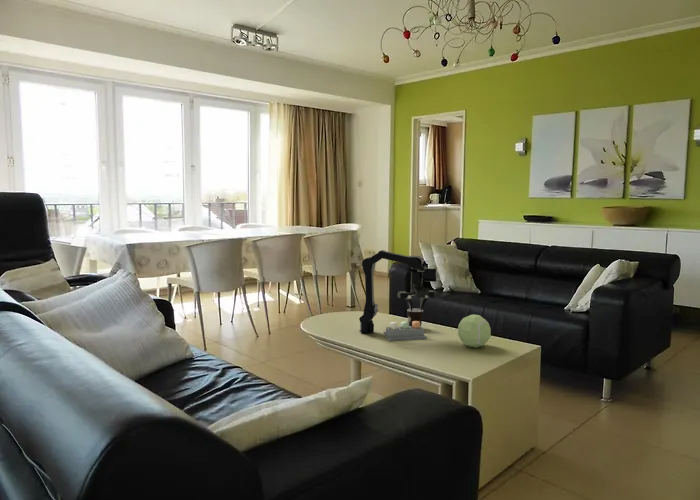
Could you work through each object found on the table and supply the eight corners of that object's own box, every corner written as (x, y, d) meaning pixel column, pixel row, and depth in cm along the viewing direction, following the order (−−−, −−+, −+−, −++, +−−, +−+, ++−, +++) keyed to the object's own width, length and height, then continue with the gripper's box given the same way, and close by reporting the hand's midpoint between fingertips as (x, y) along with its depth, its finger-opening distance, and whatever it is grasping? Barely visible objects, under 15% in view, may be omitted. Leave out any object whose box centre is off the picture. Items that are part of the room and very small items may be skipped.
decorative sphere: (452, 346, 248) (452, 315, 247) (467, 340, 260) (467, 310, 258) (480, 352, 239) (481, 320, 237) (495, 345, 250) (496, 315, 248)
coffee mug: (423, 330, 279) (424, 311, 278) (407, 330, 280) (407, 311, 279) (421, 325, 291) (421, 307, 290) (405, 324, 291) (405, 307, 290)
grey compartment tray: (390, 340, 259) (390, 332, 258) (383, 334, 271) (383, 325, 271) (426, 339, 262) (426, 330, 262) (418, 332, 275) (418, 324, 274)
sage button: (402, 331, 264) (402, 323, 264) (400, 329, 268) (400, 321, 268) (409, 330, 265) (409, 323, 264) (407, 328, 269) (407, 321, 268)
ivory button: (390, 331, 263) (390, 324, 263) (388, 329, 267) (388, 322, 267) (398, 331, 264) (398, 323, 263) (396, 329, 268) (396, 321, 267)
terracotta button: (413, 330, 265) (413, 322, 265) (411, 328, 269) (411, 321, 269) (421, 330, 266) (421, 322, 265) (418, 328, 270) (418, 320, 269)
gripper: (403, 284, 255) (403, 315, 257) (439, 282, 259) (439, 313, 260) (397, 280, 266) (397, 310, 268) (432, 279, 270) (431, 309, 271)
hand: (416, 311), depth 267 cm, fingers open, 5 cm apart
